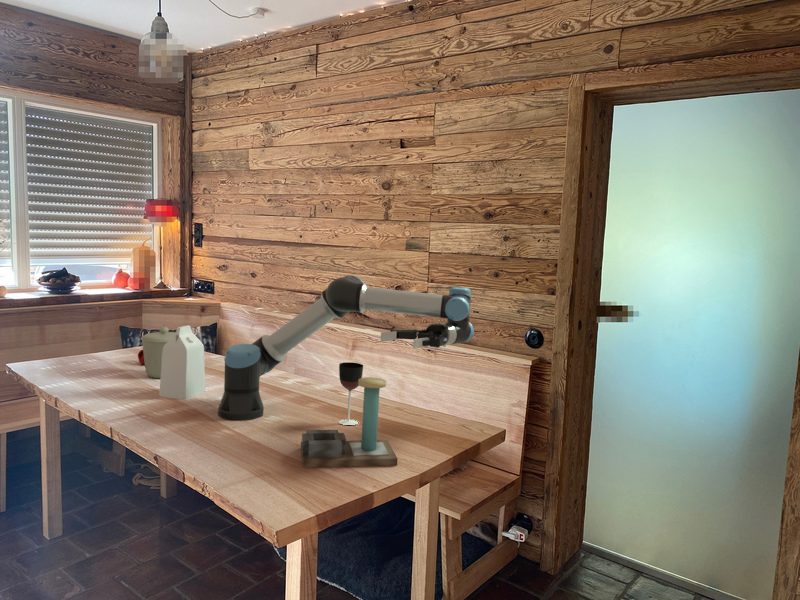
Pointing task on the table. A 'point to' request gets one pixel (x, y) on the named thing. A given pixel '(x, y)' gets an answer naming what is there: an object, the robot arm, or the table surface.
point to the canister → (155, 350)
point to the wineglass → (350, 383)
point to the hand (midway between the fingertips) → (397, 340)
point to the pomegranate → (141, 357)
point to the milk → (182, 366)
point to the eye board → (352, 459)
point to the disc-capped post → (370, 411)
